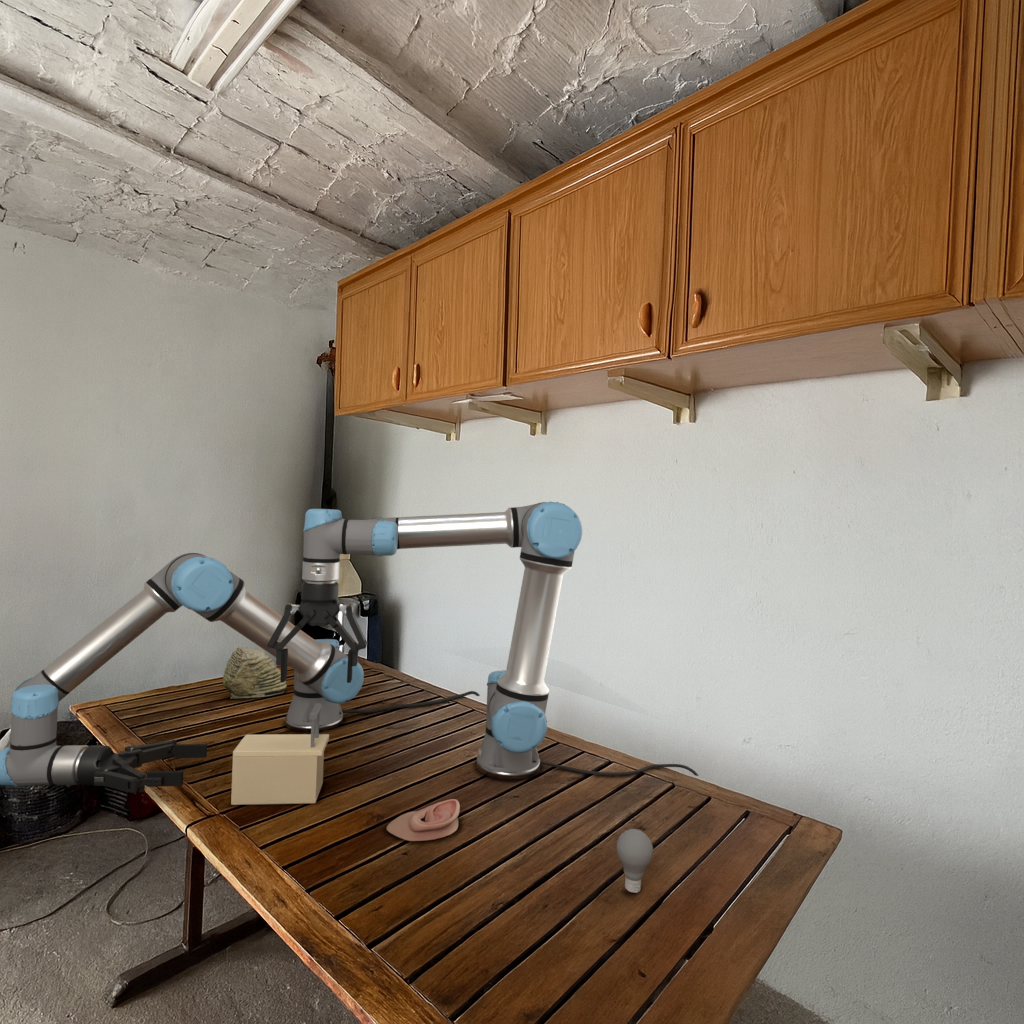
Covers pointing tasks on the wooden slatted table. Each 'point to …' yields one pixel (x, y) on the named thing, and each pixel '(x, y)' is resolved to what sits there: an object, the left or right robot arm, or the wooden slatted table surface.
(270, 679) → the fossil
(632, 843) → the light bulb
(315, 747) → the lid
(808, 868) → the wooden slatted table surface
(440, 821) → the anatomical model
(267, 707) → the wooden slatted table surface
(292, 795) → the chest
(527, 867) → the wooden slatted table surface
